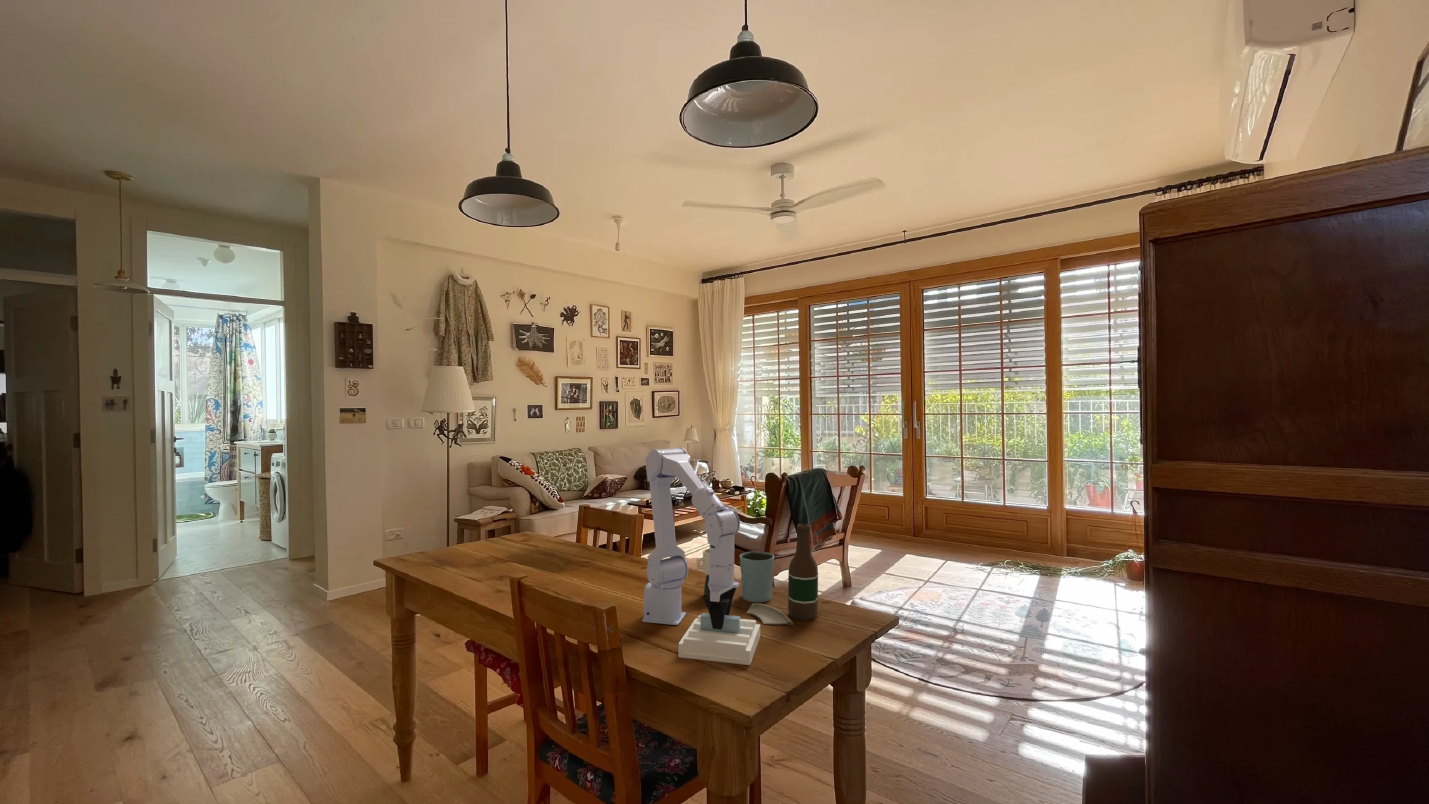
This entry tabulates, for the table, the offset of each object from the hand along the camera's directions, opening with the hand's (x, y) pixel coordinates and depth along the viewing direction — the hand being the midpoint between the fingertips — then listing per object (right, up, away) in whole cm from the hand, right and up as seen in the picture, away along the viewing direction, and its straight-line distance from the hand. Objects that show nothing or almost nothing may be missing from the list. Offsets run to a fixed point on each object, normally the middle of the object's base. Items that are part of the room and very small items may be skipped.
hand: (721, 622), depth 131 cm
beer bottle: (+22, -6, +20) cm, 30 cm away
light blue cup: (+11, -6, +33) cm, 36 cm away
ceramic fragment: (+13, -6, +17) cm, 22 cm away
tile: (0, -5, 0) cm, 5 cm away
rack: (0, -6, 0) cm, 6 cm away
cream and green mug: (-1, -6, +34) cm, 35 cm away
